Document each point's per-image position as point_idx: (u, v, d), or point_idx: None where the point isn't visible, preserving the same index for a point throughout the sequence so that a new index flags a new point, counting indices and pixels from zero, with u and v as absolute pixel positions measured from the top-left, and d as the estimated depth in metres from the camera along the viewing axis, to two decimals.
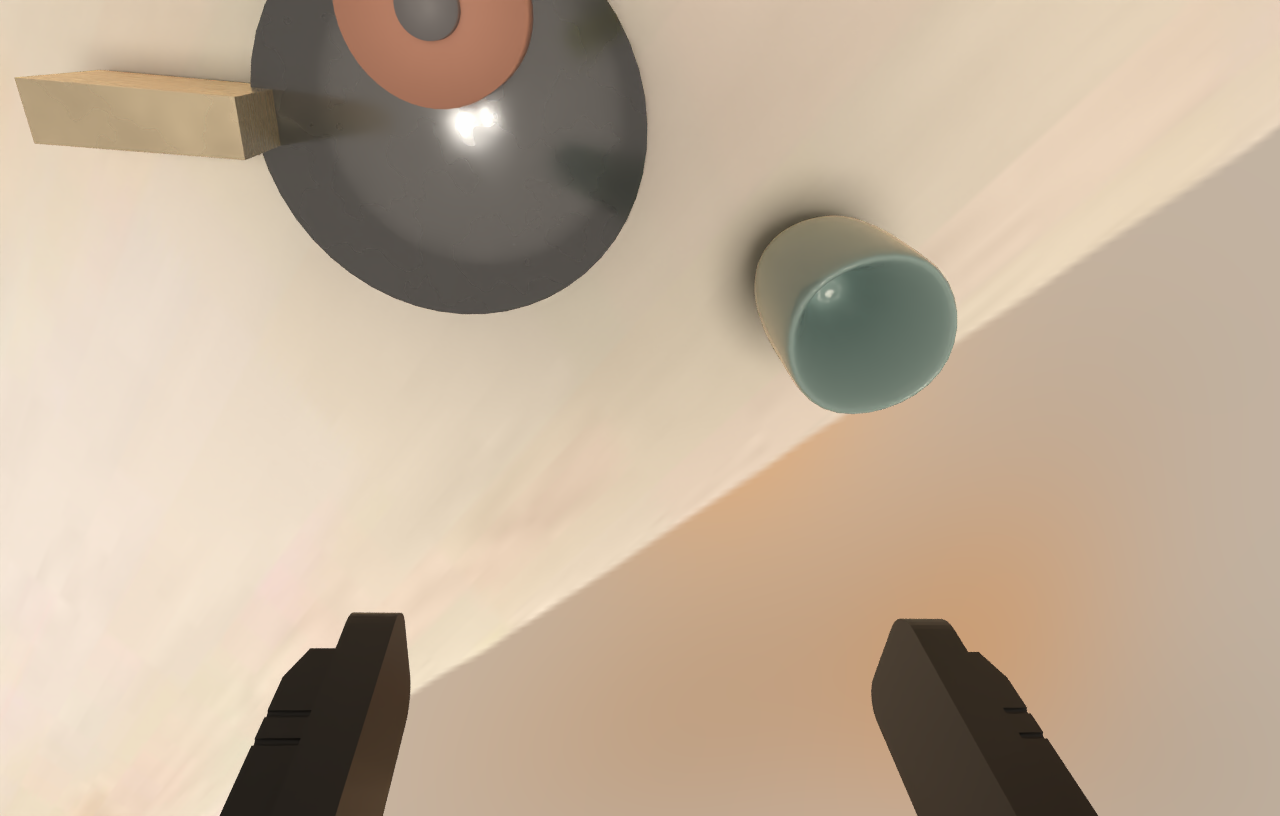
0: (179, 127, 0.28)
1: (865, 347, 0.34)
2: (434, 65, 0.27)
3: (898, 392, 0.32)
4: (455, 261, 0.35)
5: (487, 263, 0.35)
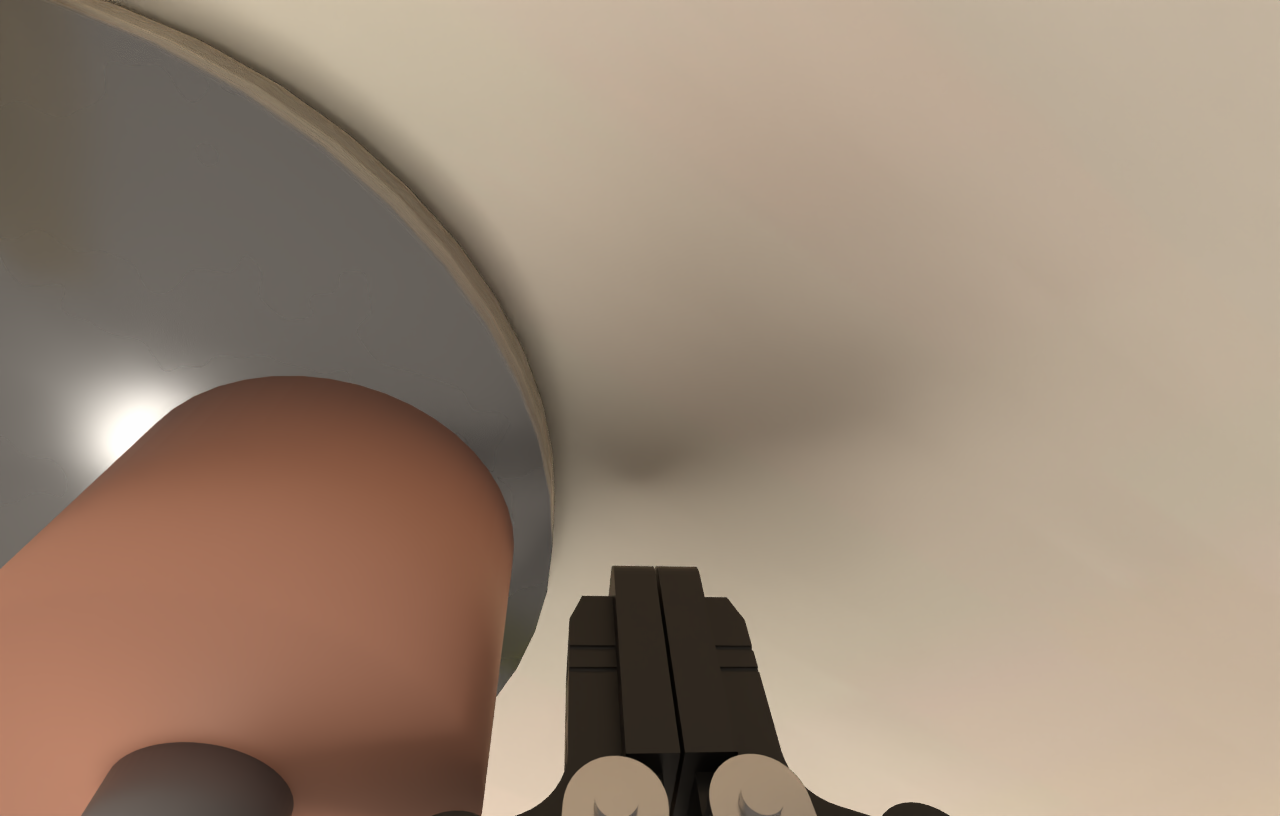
0: None
1: None
2: (36, 803, 0.09)
3: None
4: None
5: None
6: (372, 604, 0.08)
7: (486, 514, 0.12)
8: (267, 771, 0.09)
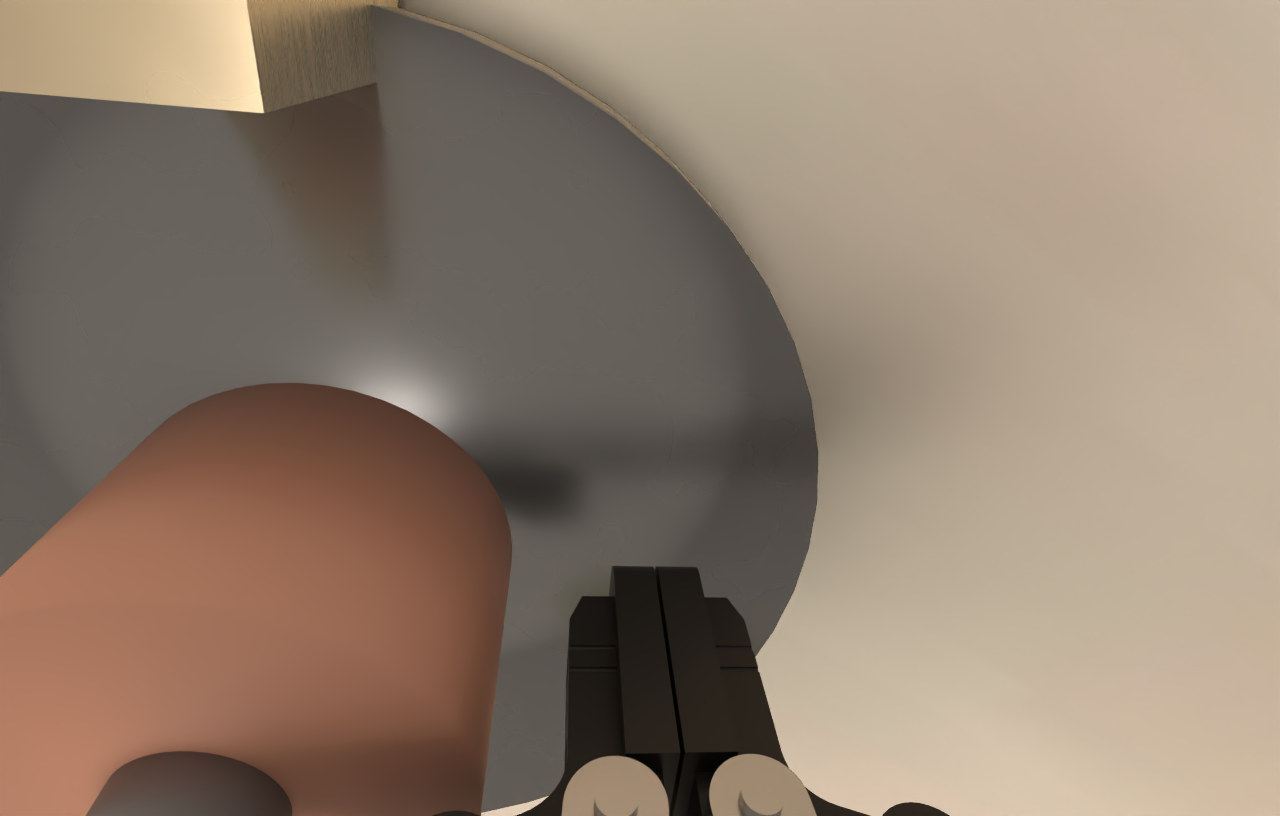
0: None
1: None
2: (35, 813, 0.09)
3: None
4: None
5: None
6: (367, 612, 0.08)
7: (483, 519, 0.12)
8: (264, 779, 0.09)
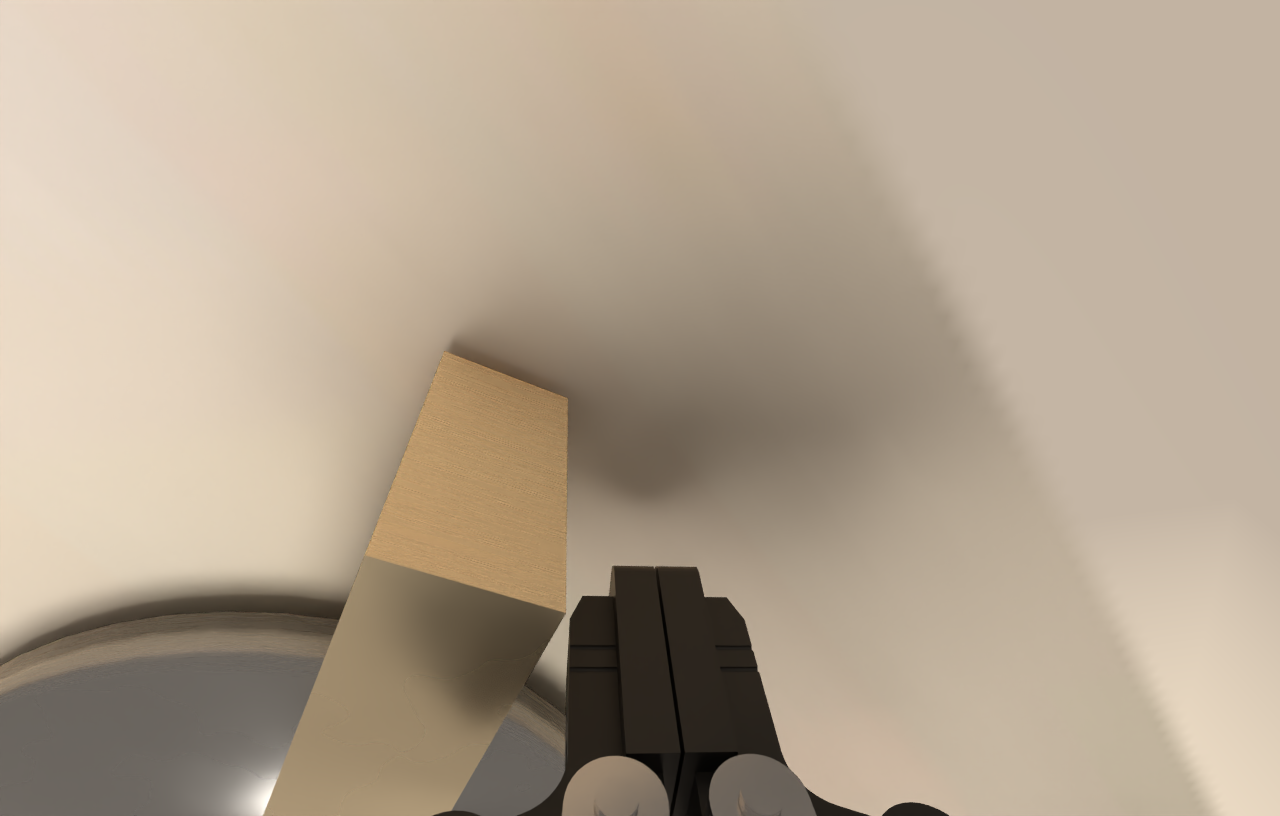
0: None
1: None
2: None
3: None
4: None
5: None
6: None
7: None
8: None
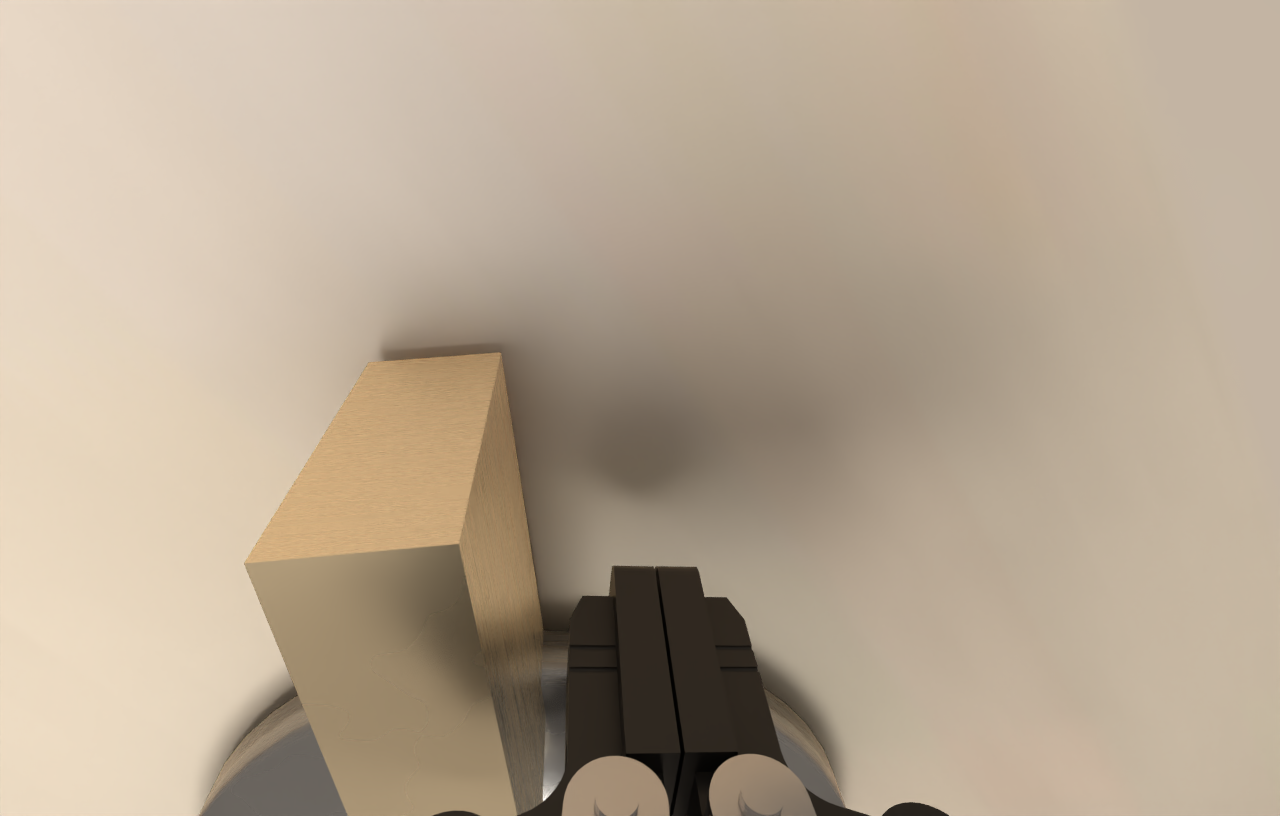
0: None
1: None
2: None
3: None
4: None
5: None
6: None
7: None
8: None
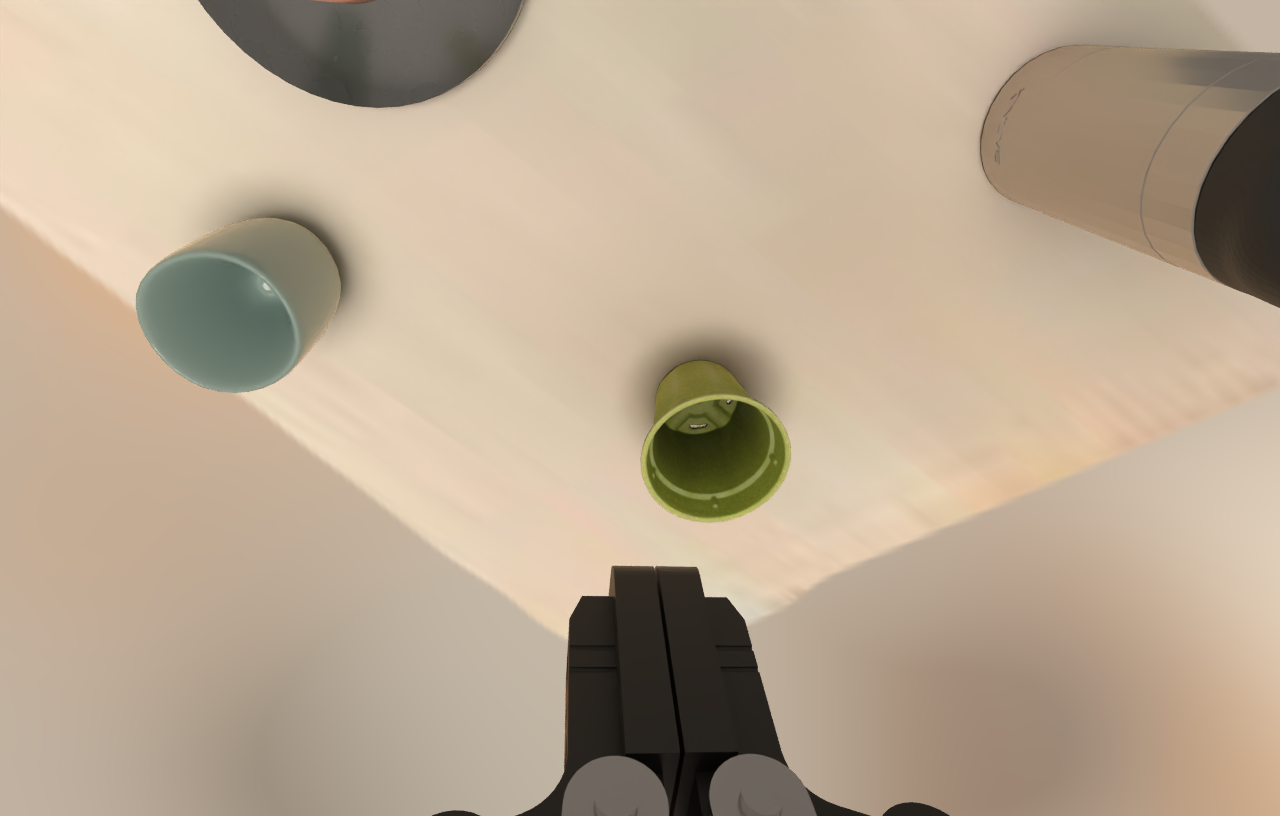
0: None
1: (216, 324, 0.38)
2: None
3: (175, 358, 0.36)
4: (271, 4, 0.35)
5: (299, 30, 0.36)
6: None
7: None
8: None
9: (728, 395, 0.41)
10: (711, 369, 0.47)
